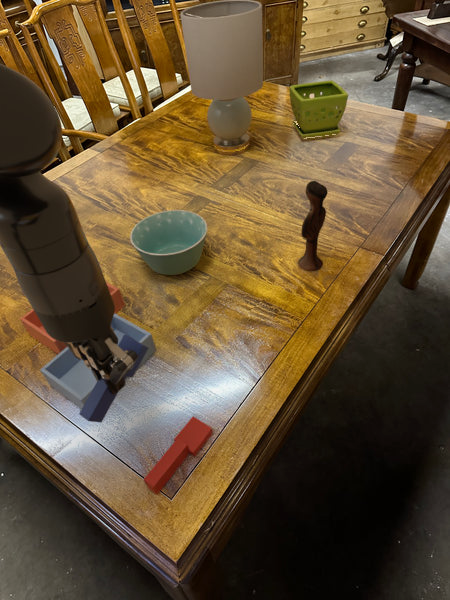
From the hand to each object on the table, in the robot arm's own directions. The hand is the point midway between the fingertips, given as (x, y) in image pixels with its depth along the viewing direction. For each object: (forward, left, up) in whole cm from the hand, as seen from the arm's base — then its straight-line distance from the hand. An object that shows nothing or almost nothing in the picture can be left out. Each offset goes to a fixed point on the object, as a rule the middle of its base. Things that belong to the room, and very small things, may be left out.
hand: (112, 384), depth 54 cm
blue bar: (+1, 0, 0) cm, 1 cm away
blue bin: (+5, +13, -12) cm, 18 cm away
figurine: (+47, -4, -12) cm, 49 cm away
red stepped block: (0, -8, -12) cm, 15 cm away
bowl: (+33, +21, -12) cm, 41 cm away
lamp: (+84, +42, -12) cm, 95 cm away
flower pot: (+103, +24, -12) cm, 107 cm away
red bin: (+10, +26, -12) cm, 30 cm away
